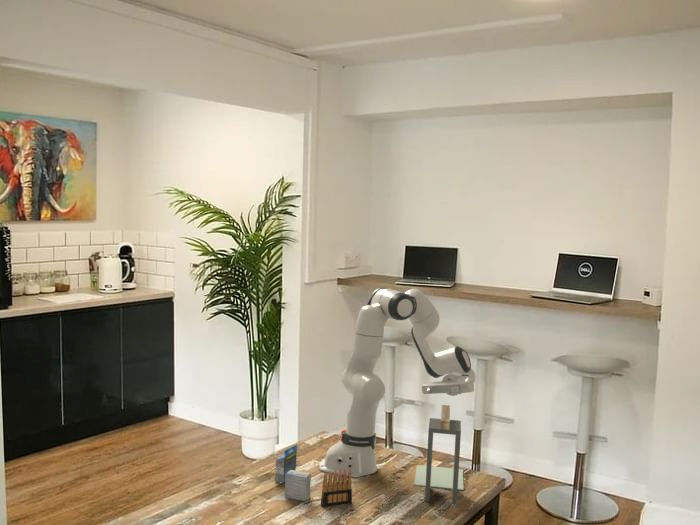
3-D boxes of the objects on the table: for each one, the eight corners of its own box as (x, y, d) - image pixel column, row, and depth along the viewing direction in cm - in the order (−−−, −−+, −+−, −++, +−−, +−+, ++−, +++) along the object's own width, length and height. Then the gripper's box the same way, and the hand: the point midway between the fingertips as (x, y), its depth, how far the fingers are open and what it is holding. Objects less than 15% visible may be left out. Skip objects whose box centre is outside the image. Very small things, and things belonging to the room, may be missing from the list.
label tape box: (286, 473, 256) (288, 441, 255) (296, 476, 255) (297, 443, 254) (274, 481, 248) (275, 448, 248) (283, 484, 247) (285, 450, 246)
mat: (413, 485, 251) (414, 484, 250) (416, 465, 270) (416, 464, 270) (463, 490, 248) (463, 489, 248) (462, 470, 268) (462, 469, 268)
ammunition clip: (349, 501, 234) (351, 467, 234) (351, 503, 233) (353, 469, 232) (320, 505, 230) (322, 470, 229) (322, 507, 229) (323, 472, 228)
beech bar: (440, 429, 235) (440, 420, 234) (441, 412, 254) (441, 404, 254) (449, 429, 234) (449, 421, 234) (449, 413, 254) (449, 405, 254)
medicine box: (310, 497, 236) (311, 472, 236) (305, 502, 232) (306, 477, 232) (289, 493, 239) (290, 469, 238) (284, 498, 235) (285, 473, 234)
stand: (424, 501, 237) (428, 428, 235) (426, 487, 249) (429, 418, 247) (456, 504, 235) (460, 430, 234) (456, 490, 247) (460, 420, 245)
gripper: (428, 377, 278) (413, 384, 266) (475, 374, 268) (462, 381, 256) (431, 393, 278) (416, 400, 266) (478, 390, 267) (464, 398, 256)
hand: (439, 391), depth 261 cm, fingers open, 8 cm apart
